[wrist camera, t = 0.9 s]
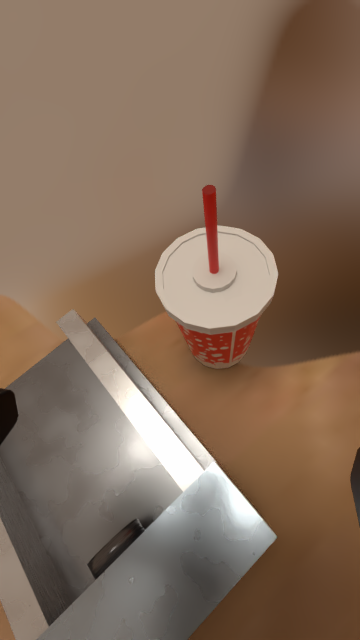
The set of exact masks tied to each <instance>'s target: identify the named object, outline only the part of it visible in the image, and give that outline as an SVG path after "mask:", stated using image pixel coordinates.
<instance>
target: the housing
mask: <svg viewBox="0 0 360 640" xmlns="http://www.w3.org/2000/svg"><path fill="white" fill-rule="evenodd" d="M56 323H57V324H58V325H59V327H60V328H61V329H62V331H63V332H64V333H65V334H66V336H67V337H68V339H67V340H66V341H64V342H63V343H62V344H61V345H59V346H58V347H57V348H56V349H54V350H53V351H52V352H51V353H49V354H48V355H47V356H46V357H44V358H43V359H42V360H40V361H39V362H38V363H37V364H35V365H34V366H33V367H32V368H30V369H29V370H28V371H27V372H25V373H24V374H23V375H21V376H20V377H19V378H18V379H16V380H15V381H14V382H13V383H11V384H10V385H9V386H8V387H6V388H5V389H8V390H12V391H13V392H14V394H15V397H16V403H17V408H18V413H19V416H18V420H17V423H16V424H15V426H14V427H13V428H12V430H11V431H10V433H9V434H8V436H7V437H6V438H5V440H4V441H3V443H2V444H1V446H0V600H1V603H2V605H3V608H4V611H5V613H6V616H7V618H8V621H9V623H10V626H11V628H12V631H13V633H14V636H15V638H16V640H187V639H188V638H189V637H190V636H191V635H192V634H193V632H194V631H195V630H196V629H197V628H198V627H199V626H200V624H201V623H202V622H203V621H204V620H205V619H206V618H207V616H208V615H209V614H210V613H211V612H212V611H213V610H214V609H215V607H216V606H217V605H218V604H219V603H220V602H221V601H222V599H223V598H224V597H225V596H226V595H227V594H228V593H229V592H230V590H231V589H232V588H233V587H234V586H235V585H236V584H237V582H238V581H239V580H240V579H241V578H242V577H243V576H244V574H245V573H246V572H247V571H248V570H249V569H250V568H251V567H252V565H253V564H254V563H255V562H256V561H257V560H258V559H259V557H260V556H261V555H262V554H263V553H264V552H265V551H266V549H267V548H268V547H269V546H270V545H271V544H272V543H273V542H274V540H275V539H276V538H277V536H276V534H275V533H274V532H273V530H272V529H271V527H270V526H269V525H268V523H267V522H266V520H265V519H264V518H263V517H262V515H261V514H260V513H259V512H258V511H257V509H256V508H255V507H254V506H253V505H252V504H251V502H250V501H249V500H248V499H247V498H246V496H245V495H244V494H243V493H242V492H241V490H240V489H239V488H238V487H237V486H236V484H235V483H234V482H233V481H232V480H231V479H230V477H229V476H228V475H227V474H226V473H225V471H224V470H223V469H222V468H221V467H220V465H219V464H218V463H217V462H216V461H215V459H214V458H213V457H212V456H211V455H210V454H209V452H208V451H207V450H206V449H205V448H204V446H203V445H202V444H201V443H200V442H199V440H198V439H197V438H196V437H195V436H194V435H193V433H192V432H191V431H190V430H189V429H188V427H187V426H186V425H185V424H184V423H183V421H182V420H181V419H180V418H179V417H178V415H177V414H176V413H175V412H174V411H173V410H172V408H171V407H170V406H169V405H168V404H167V402H166V401H165V400H164V399H163V398H162V396H161V395H160V394H159V393H158V392H157V390H156V389H155V388H154V387H153V386H152V385H151V383H150V382H149V381H148V380H147V379H146V377H145V376H144V375H143V374H142V373H141V371H140V370H139V369H138V368H137V367H136V365H135V364H134V363H133V362H132V361H131V360H130V358H129V357H128V356H127V355H126V354H125V352H124V351H123V350H122V349H121V348H120V346H119V345H118V344H117V343H116V342H115V341H114V339H113V338H112V337H111V336H110V335H109V333H108V332H107V331H106V330H105V329H104V327H103V326H102V325H101V324H100V323H99V322H98V320H97V319H96V318H94V319H92V320H91V321H90V322H88V323H87V322H86V321H85V320H84V319H82V318H81V316H80V315H78V313H76V311H75V310H74V309H72V310H71V311H70V312H68V313H67V314H66V315H64V316H63V317H62V318H61V319H60V320H58V321H57V322H56Z"/></svg>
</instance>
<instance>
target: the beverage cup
mask: <svg viewBox="0 0 360 640" xmlns="http://www.w3.org/2000/svg"><path fill="white" fill-rule="evenodd" d="M202 191H203V203H204V215H205V226H206V228H199V229H196V230H193V231H191V232H189V233H187V234H185V235H183V236H182V237H179V238H177V239H176V240H175V241H174V242H173V243H172V244H171V245H170V246H169V247H168V248H167V249H166V250H165V251H164V252H163V253H162V256H161V258H160V260H159V263H158V265H157V268H156V270H155V284H156V293H157V294H158V296H159V298H160V300H161V302H162V304H163V306H164V307H165V309H166V311H167V313H168V315H169V316H170V317H171V318H173V319H174V320H175V321H176V322H177V324H178V326H179V328H180V330H181V332H182V334H183V336H184V338H185V340H186V342H187V344H188V346H189V348H190V350H191V352H192V353H193V355H194V357H195V359H197V360H198V361H199V362H201V363H202V364H203V365H204V366H207V367H211V368H215V369H221V368H229V367H231V366H233V365H235V364H236V363H238V362H240V361H241V359H242V358H243V357H244V355H245V354H246V353H247V350H248V347H249V345H250V342H251V340H252V337H253V334H254V332H255V329H256V326H257V324H258V321H259V318H260V316H261V314H262V313H263V312H264V310H265V309H266V308H267V307H268V305H269V304H270V303H271V299H272V298H273V294H274V290H275V286H276V282H277V277H278V271H277V267H276V264H275V260H274V256H273V254H272V253H271V251H270V250H269V249H268V248H267V247H266V246H265V245H264V243H263V242H262V241H261V240H260V239H259V238H257V237H255V236H253V235H252V234H250V233H248V232H246V231H244V230H242V229H238V228H232V227H225V226H217V207H216V188H215V187H214V186H213V185H207V186H205V187H204V188H203V189H202Z"/></svg>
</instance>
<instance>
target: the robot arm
mask: <svg viewBox="0 0 360 640" xmlns="http://www.w3.org/2000/svg"><path fill="white" fill-rule="evenodd" d="M18 416H19V413H18V408H17V403H16V397H15V394H14V392H13V391H12V390H8V389H2V388H0V446H1V444H2V443H3V441H4V440H5V438H6V437H7V436H8V434H9V433H10V431H11V430H12V428H13V427H14V426H15V424H16V423H17V420H18ZM350 481H351V488H352V492H353V497H354V502H355V507H356V511H357V516H358V521H359V526H360V447H359V449H358V450H357V453H356V457H355V460H354V464H353V468H352V471H351V477H350Z"/></svg>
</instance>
